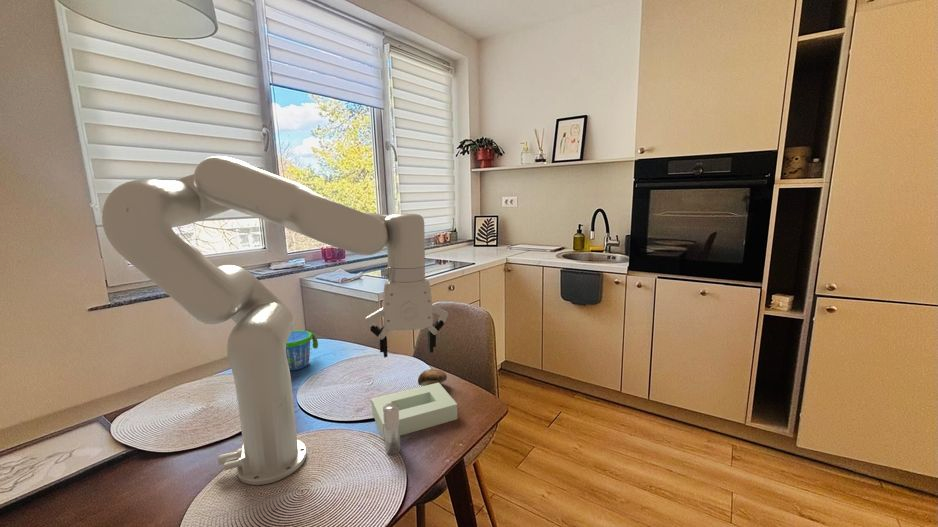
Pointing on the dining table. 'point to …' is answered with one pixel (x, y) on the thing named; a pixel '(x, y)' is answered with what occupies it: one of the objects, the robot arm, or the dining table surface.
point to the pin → (391, 428)
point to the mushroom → (431, 377)
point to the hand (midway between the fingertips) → (408, 352)
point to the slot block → (417, 408)
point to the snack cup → (299, 349)
